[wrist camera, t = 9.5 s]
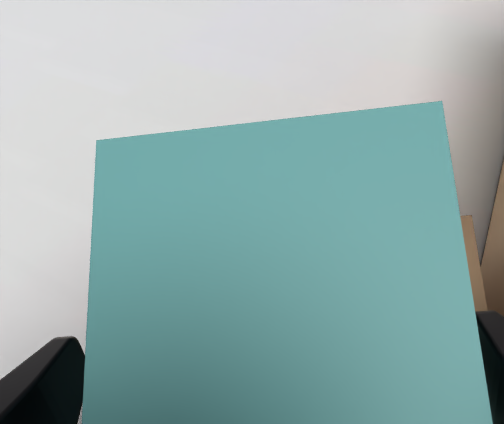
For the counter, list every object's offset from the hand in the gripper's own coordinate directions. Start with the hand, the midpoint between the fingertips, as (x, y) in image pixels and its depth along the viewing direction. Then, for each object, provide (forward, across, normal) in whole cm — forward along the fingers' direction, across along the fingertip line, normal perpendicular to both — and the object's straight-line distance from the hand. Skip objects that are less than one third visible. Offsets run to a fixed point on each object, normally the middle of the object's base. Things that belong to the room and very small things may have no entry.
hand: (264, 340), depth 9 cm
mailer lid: (0, 0, +3) cm, 3 cm away
